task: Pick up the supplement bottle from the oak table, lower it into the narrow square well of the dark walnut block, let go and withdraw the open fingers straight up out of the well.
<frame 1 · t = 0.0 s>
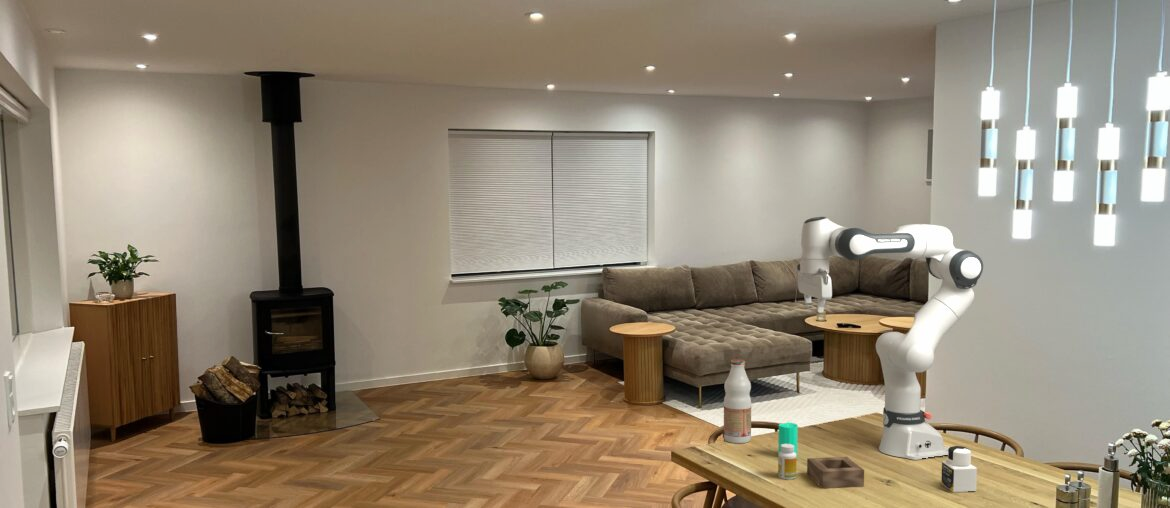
hand: (814, 310, 280), 48 cm above the table, fingers open, 8 cm apart
well block: (834, 480, 260), on the table
fruit juice: (737, 440, 302), on the table
candle: (787, 457, 283), on the table
medicine bottle: (958, 488, 253), on the table
supplement bottle: (787, 477, 263), on the table
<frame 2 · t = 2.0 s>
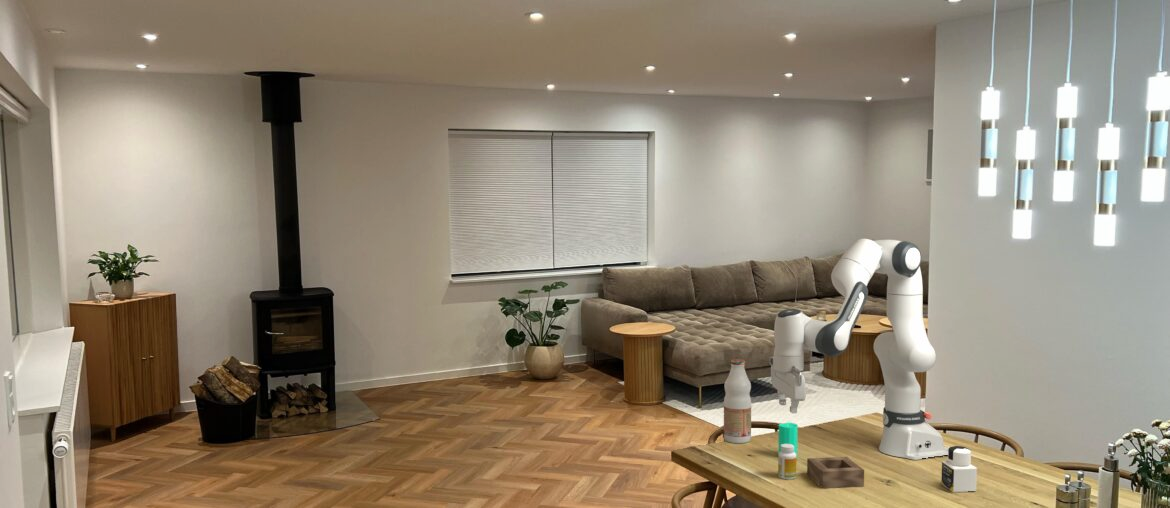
hand: (787, 408, 262), 21 cm above the table, fingers open, 8 cm apart
nothing on the table moved.
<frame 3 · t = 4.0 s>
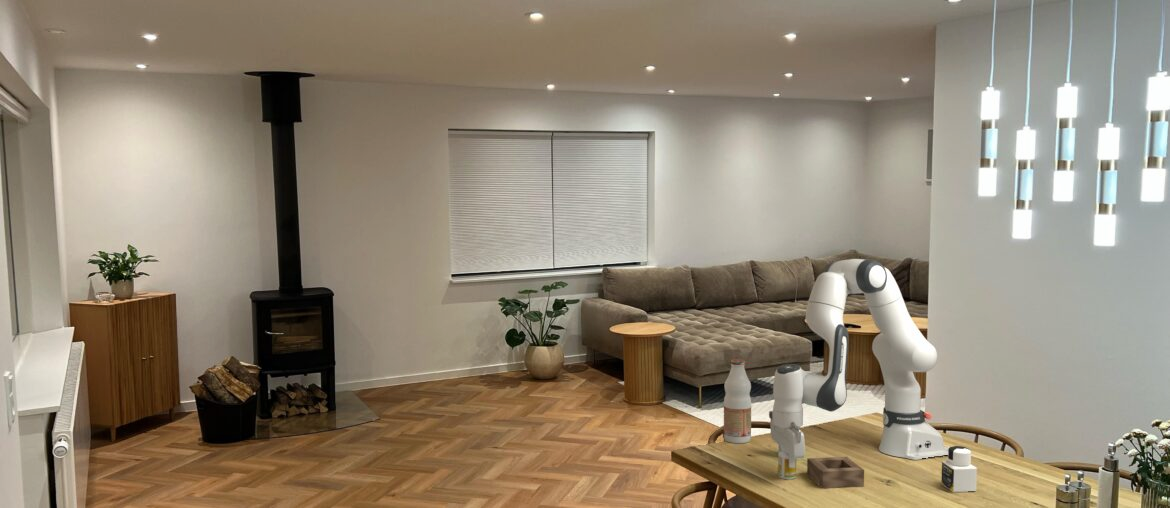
hand: (787, 463, 263), 4 cm above the table, fingers closed on supplement bottle, 5 cm apart
supplement bottle: (787, 477, 263), on the table, touching gripper
everything else where it was.
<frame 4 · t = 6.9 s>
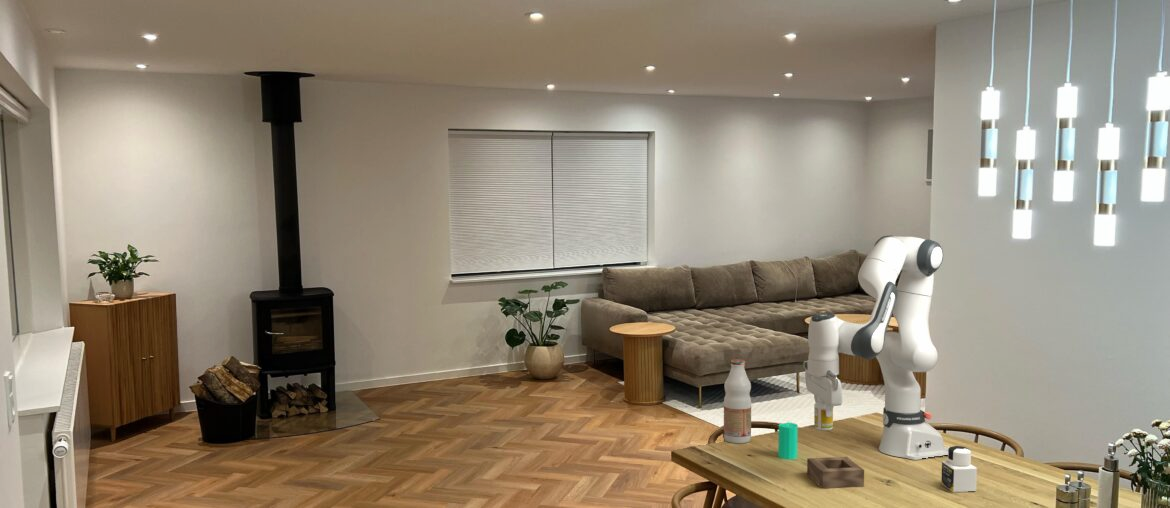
hand: (823, 413, 260), 20 cm above the table, fingers closed on supplement bottle, 5 cm apart
supplement bottle: (823, 428, 260), point 15 cm above the table, touching gripper
everything else where it was.
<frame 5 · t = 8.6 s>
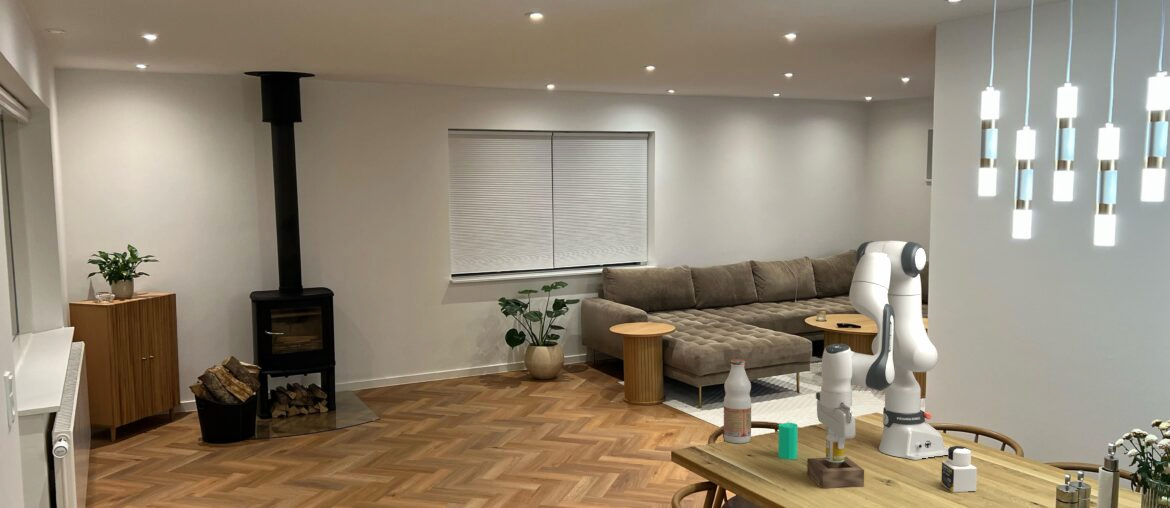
hand: (835, 444, 259), 11 cm above the table, fingers closed on supplement bottle, 5 cm apart
supplement bottle: (835, 461, 260), point 6 cm above the table, touching gripper
everything else where it was.
when the fingers open (7 cm above the table, at t = 9.9 s): supplement bottle drops 2 cm, resting in well block.
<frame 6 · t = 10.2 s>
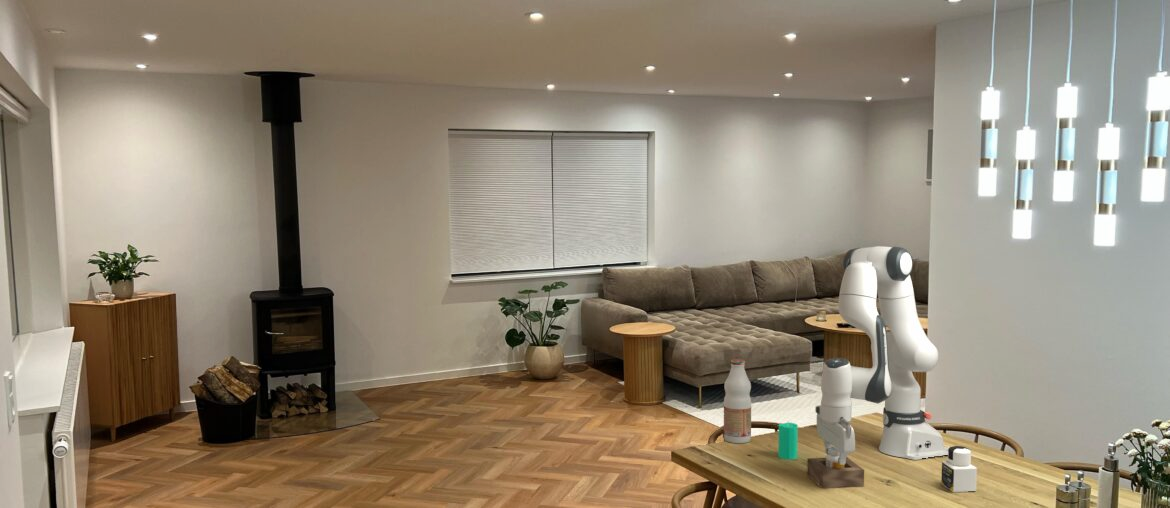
hand: (835, 458, 260), 7 cm above the table, fingers open, 8 cm apart
supplement bottle: (834, 480, 260), resting in well block
everything else where it was.
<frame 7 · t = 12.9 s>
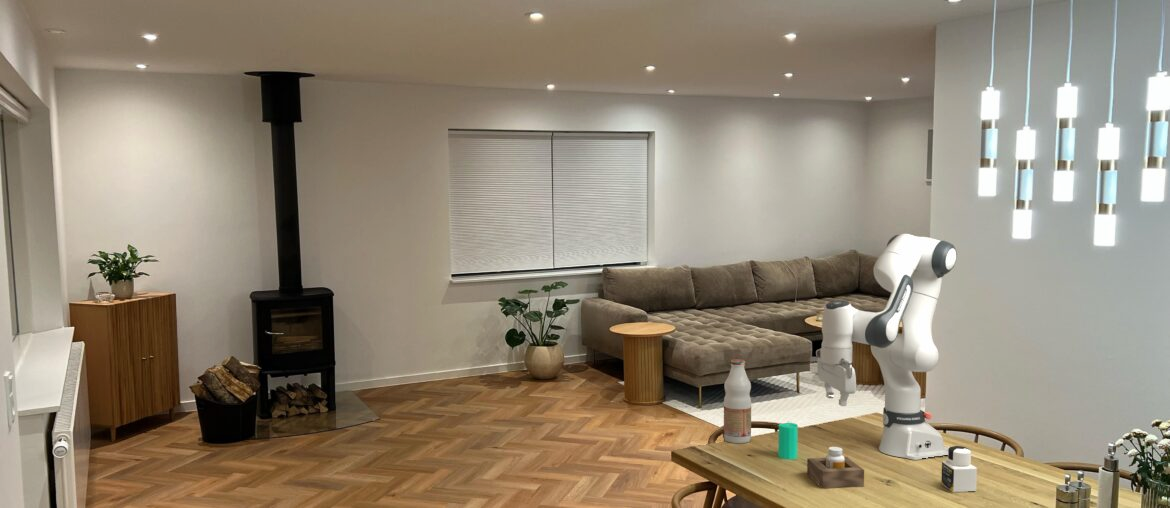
hand: (836, 401, 258), 24 cm above the table, fingers open, 8 cm apart
nothing on the table moved.
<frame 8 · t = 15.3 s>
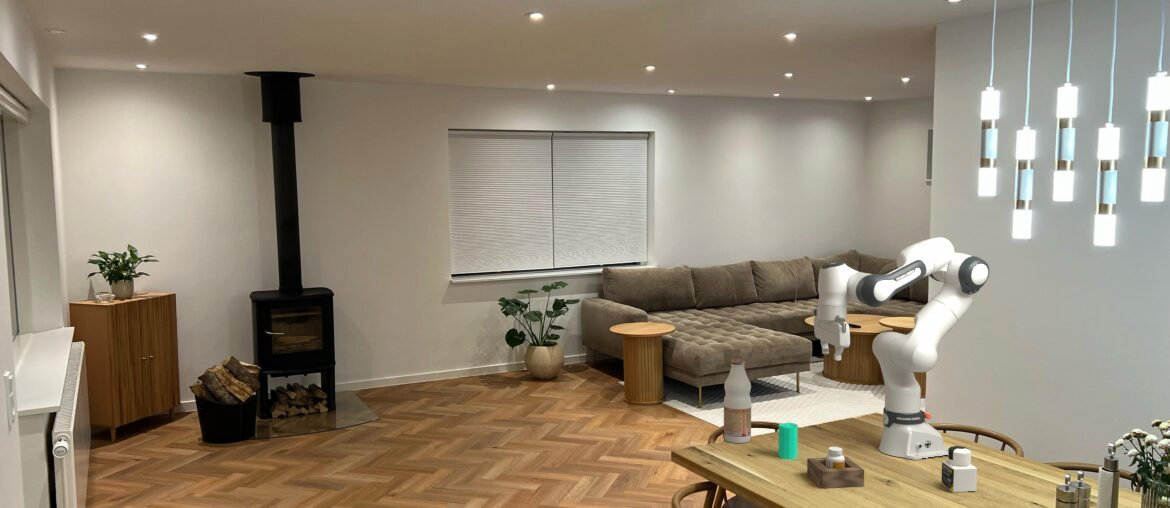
hand: (831, 357, 274), 34 cm above the table, fingers open, 8 cm apart
nothing on the table moved.
at the end: supplement bottle 0.1 cm off-centre on the well block, point 0.0 cm above the well block's base; supplement bottle tilted 0°; the gripper is holding nothing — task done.
